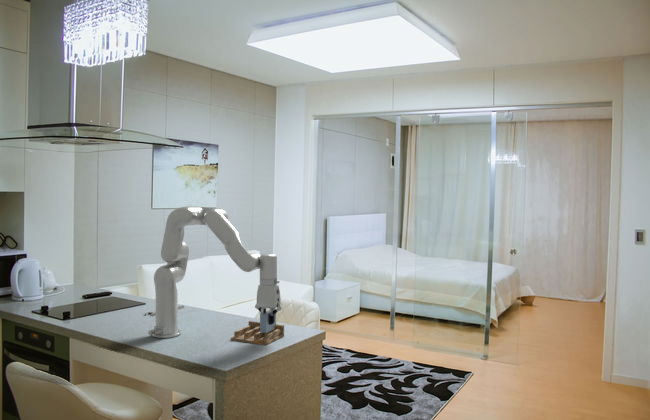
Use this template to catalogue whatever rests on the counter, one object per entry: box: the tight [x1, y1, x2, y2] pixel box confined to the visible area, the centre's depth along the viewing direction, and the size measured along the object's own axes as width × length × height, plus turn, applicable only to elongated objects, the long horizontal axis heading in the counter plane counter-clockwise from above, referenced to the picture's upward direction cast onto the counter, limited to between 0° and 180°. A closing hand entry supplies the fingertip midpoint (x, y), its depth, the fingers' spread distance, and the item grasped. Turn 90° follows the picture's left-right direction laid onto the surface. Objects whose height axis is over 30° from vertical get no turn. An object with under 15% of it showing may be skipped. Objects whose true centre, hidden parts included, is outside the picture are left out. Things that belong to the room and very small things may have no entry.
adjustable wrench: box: [144, 305, 186, 317], centre depth 278 cm, size 25×6×2 cm, turn 143°
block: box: [259, 309, 277, 333], centre depth 226 cm, size 9×3×8 cm, turn 157°
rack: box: [230, 320, 285, 346], centre depth 228 cm, size 16×18×5 cm
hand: (268, 323), depth 226 cm, fingers closed on block, 2 cm apart
